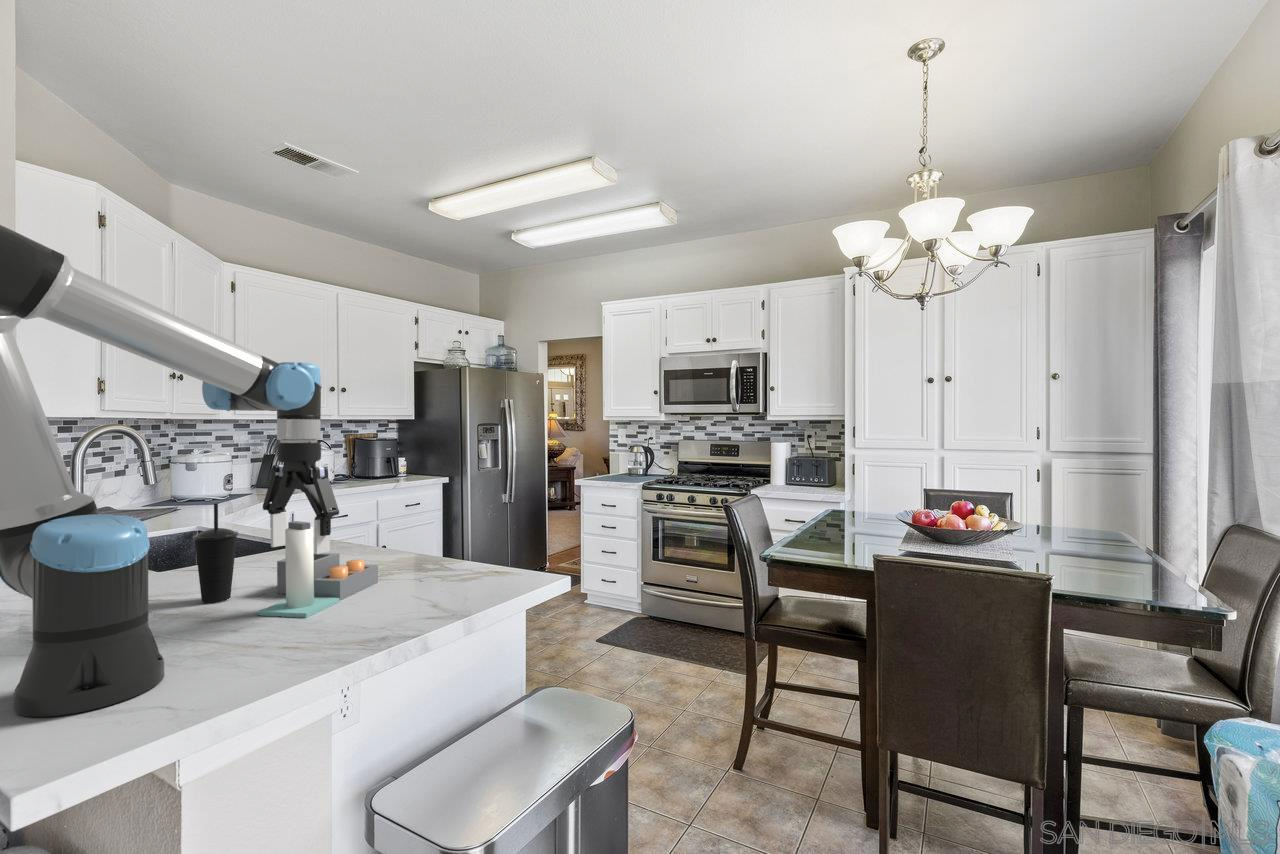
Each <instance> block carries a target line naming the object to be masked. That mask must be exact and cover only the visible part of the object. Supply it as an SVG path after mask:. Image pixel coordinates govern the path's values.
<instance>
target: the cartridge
mask: <svg viewBox="0 0 1280 854" xmlns="http://www.w3.org/2000/svg"><path fill="white" fill-rule="evenodd" d="M284 546H285V549H284V550H285V559H286V594H285V600H286V607H287V608H301V607H306V606H310V605H312V604H314V526H311V522H308V521H299V520H293V521H288V527H287V528H286V529H285V545H284Z"/></svg>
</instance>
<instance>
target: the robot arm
mask: <svg viewBox="0 0 1280 854" xmlns="http://www.w3.org/2000/svg"><path fill="white" fill-rule="evenodd" d="M35 318H41V319H45V320H47V321H50V322H53V323H55V324H56V325H57V324H58V325H59V326H63V327H65V328H67V329H69V330H73V331H75V332H78V333H80V334H82V335H85V336H88V337H90V338H92V339H96V340H98V341H101V342H103V343H106V344H108V345H109V346H113V347H116V348H118V349H120V350H122V351H126V352H127V353H131V354H133V355H136V356H138V357H141V358H143V359H145V360H146V359H147V360H149V361H151V362H153V363H155V364H159V365H161V366H164V367H165V368H169V369H171V370H174V371H176V372H179V373H181V374H184V375H187V376H189V377H191V378H194V379H197V380H199V381H202V386H201V391H202V398H203V401H204V403H205V405H206V406H207V407H208V408H209V409H212V410H214V411H227V412H230V411H238V412H239V411H240V412H241V411H245V412H246V411H248V412H249V411H250V412H252V411H253V412H254V411H255V412H256V411H260V412H263V411H269V412H276V440H278V441H280V442H279V443H278V444H277V445H276V448H277V449H276V453H277V454H276V457H277V459H276V460H277V461H278V462H280V463H283V464H277V465H275V464H273V465H272V467H271V477H270V481H269V484H268V487H267V491H266V493H265V497H264V501H263V503H262V509H263V511H267V513H268V514H269V516H270V525H269V526H270V547H271V548H276V547H283V546H285V529H287V510H286V507H287V505H288V503H289V501H290V500H291V497H292V495H293V494H294V492H295V490H299V491H301V493H302V492H303V493H304V494H305V496H306V498H307V500H308V502H309V504H310V506H311V507H312V510H313V512H314V514H315V517H314V520H313V524H314V525H313V552H314V554H319V553H329V552H330V551H331V533H332V527H331V526H332V525H331V524H332V522H331V520H332V518H333V517H335V516H339V514H340V508H339V506H338V503H337V501H336V497H335V494H334V492H333V491H334V490H333V488H332V484H331V481H330V479H329V469H328V467H327V466H317V465H316V462H319V461H321V459H322V443H320V442H318V440H321V438H322V437H321V433H322V432H321V431H322V429H321V427H322V425H321V419H322V417H321V413H322V411H321V410H322V409H321V408H322V405H321V404H322V394H321V393H322V381H321V371H320V367H319V366H318V365H317V364H314V363H310V362H295V361H294V362H293V361H286V362H285V361H284V362H277V361H275V360H273V359H270V358H268V357H266V356H263V355H261V354H258V353H257V352H254V351H252V350H250V349H248V348H246V347H243V346H242V345H239V344H237V343H235V342H233V341H231V340H229V339H227V338H224V337H223V336H220V335H218V334H216V333H214V332H211V331H210V330H208V329H205V328H203V327H202V326H198V324H197V325H196V324H194V323H193V322H190V321H188V320H186V319H184V318H181V317H179V316H178V315H175V314H173V313H170V312H168V311H167V310H165V309H163V308H160V307H157V306H156V305H154V304H151V303H150V302H147V301H145V300H143V299H140V298H139V297H137V296H134V295H133V294H130V293H128V292H127V291H124V290H121V289H119V288H118V287H115V286H113V285H111V284H110V283H107V282H104V281H102V280H100V279H98V278H96V277H94V276H91V275H89V274H87V273H84V272H83V271H80V270H78V269H77V268H74V267H73V266H72V265H71V262H70V260H69V258H68V256H66V255H64V254H63V253H61V252H58V251H56V250H54V249H52V248H50V247H48V246H46V245H44V244H41V243H39V242H37V241H35V240H33V239H31V238H29V237H27V236H25V235H23V234H21V233H19V232H17V231H15V230H13V229H11V228H8V227H6V226H3V225H1V224H0V580H1V581H2V582H3V583H4V584H5V585H6V586H7V587H8V588H10V589H11V590H13V591H15V592H16V593H19V594H21V595H23V596H26V597H29V598H30V599H31V600H32V646H31V649H30V652H29V653H28V658H27V660H26V662H25V664H24V667H23V669H22V673H21V677H20V680H19V682H18V683H17V685H16V686H15V689H14V692H13V710H14V711H13V712H14V713H15V714H17V715H20V716H23V717H31V718H46V717H58V716H64V715H66V716H67V715H72V714H79V713H82V712H88V711H93V710H97V709H100V708H104V707H108V706H111V705H114V704H117V703H120V702H123V701H127V700H129V699H131V698H134V697H137V696H139V695H141V694H143V693H146V692H148V691H149V690H151V689H153V688H155V687H156V686H157V685H159V684H160V683H161V682H162V681H163V679H164V678H165V659H164V657H163V655H162V654H161V653H160V650H159V647H158V643H157V641H156V640H155V637H154V634H153V633H152V630H151V628H150V623H149V550H150V546H151V543H150V539H149V537H148V529H147V525H146V524H145V522H144V521H142V520H141V519H139V518H137V517H135V516H131V515H130V516H129V515H124V514H123V515H122V514H120V515H119V514H118V515H114V514H108V513H107V514H106V513H103V514H101V513H100V512H99V509H98V507H97V505H96V502H95V499H94V497H93V496H90V495H88V494H85V493H82V492H80V491H78V490H76V488H75V486H74V483H73V480H72V478H71V476H70V474H69V473H70V472H69V471H68V468H67V466H66V463H65V461H64V458H63V456H62V453H61V451H60V449H59V446H58V444H57V443H58V442H57V441H56V438H55V436H54V434H53V431H52V429H51V426H50V424H49V421H48V418H47V415H46V414H45V411H44V409H43V406H42V404H41V401H40V398H39V396H38V394H37V391H36V389H35V386H34V384H33V381H32V379H31V378H32V377H30V374H29V371H28V369H27V365H26V364H25V361H24V359H23V356H22V354H21V351H20V349H19V346H18V344H17V341H16V339H15V336H14V334H13V332H14V329H15V328H16V327H17V326H18V324H19V323H20V322H21V320H30V319H35Z"/></svg>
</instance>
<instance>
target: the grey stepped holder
mask: <svg viewBox="0 0 1280 854" xmlns="http://www.w3.org/2000/svg"><path fill="white" fill-rule="evenodd" d="M335 566H340V553H335V552H333V553H332V552H331V553H329V552H324V553H319V554H314V597H327V598H339V601H342V600H344V599H346V598H348V597H350V596H353V595H355V594H356V593H359V592H361V591H363V590H365V589H367V588H369V587H371V586H374V585H375V584H378V583H379V565H378V564H364V570H361V571H359V572H357V571H348V576H347V577H345V578H342V579H338V578H329V568H331V567H335ZM276 569H277V570H276V572H277V573H276V577H277V578H276V580H277V581H276V584H277V585H276V587H277V588H276V589H277V590H276V591H277V592H276V593H280V594H279V595H286V558H284V559H280V560H277V561H276Z"/></svg>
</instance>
